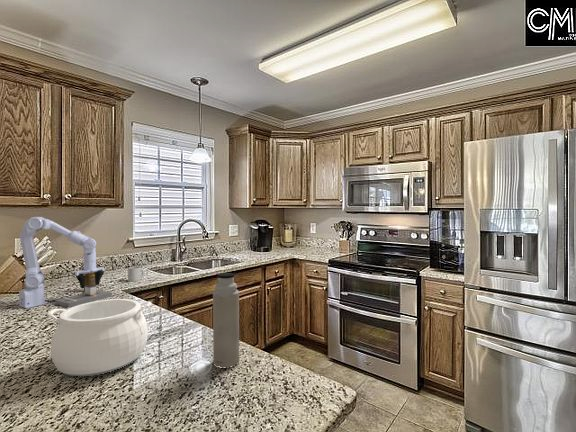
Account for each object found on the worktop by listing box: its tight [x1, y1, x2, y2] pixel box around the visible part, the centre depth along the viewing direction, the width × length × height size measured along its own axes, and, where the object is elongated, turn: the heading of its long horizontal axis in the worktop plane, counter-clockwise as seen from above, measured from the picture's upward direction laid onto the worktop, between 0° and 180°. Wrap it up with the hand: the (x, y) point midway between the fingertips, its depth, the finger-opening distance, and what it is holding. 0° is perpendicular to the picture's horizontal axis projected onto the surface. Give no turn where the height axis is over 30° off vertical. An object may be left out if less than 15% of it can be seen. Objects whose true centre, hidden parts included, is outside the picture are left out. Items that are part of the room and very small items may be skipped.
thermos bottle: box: [212, 272, 240, 367], centre depth 99 cm, size 8×8×28 cm
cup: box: [127, 266, 145, 283], centre depth 211 cm, size 7×10×9 cm
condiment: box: [81, 272, 98, 294], centre depth 184 cm, size 7×8×12 cm
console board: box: [54, 289, 113, 308], centre depth 167 cm, size 22×12×2 cm, turn 152°
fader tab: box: [85, 284, 97, 295], centre depth 169 cm, size 3×5×5 cm, turn 62°
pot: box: [46, 298, 152, 378], centre depth 101 cm, size 29×26×17 cm
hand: (90, 286), depth 169 cm, fingers open, 7 cm apart
